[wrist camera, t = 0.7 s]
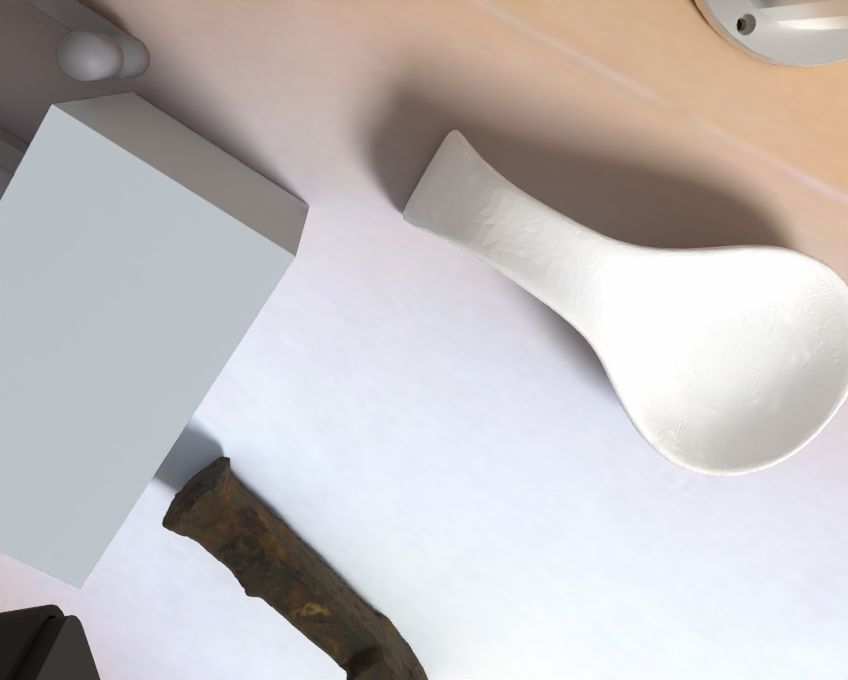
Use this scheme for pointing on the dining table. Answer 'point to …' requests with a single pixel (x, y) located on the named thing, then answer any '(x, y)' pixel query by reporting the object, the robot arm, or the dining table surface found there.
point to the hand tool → (288, 576)
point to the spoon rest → (665, 317)
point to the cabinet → (116, 296)
